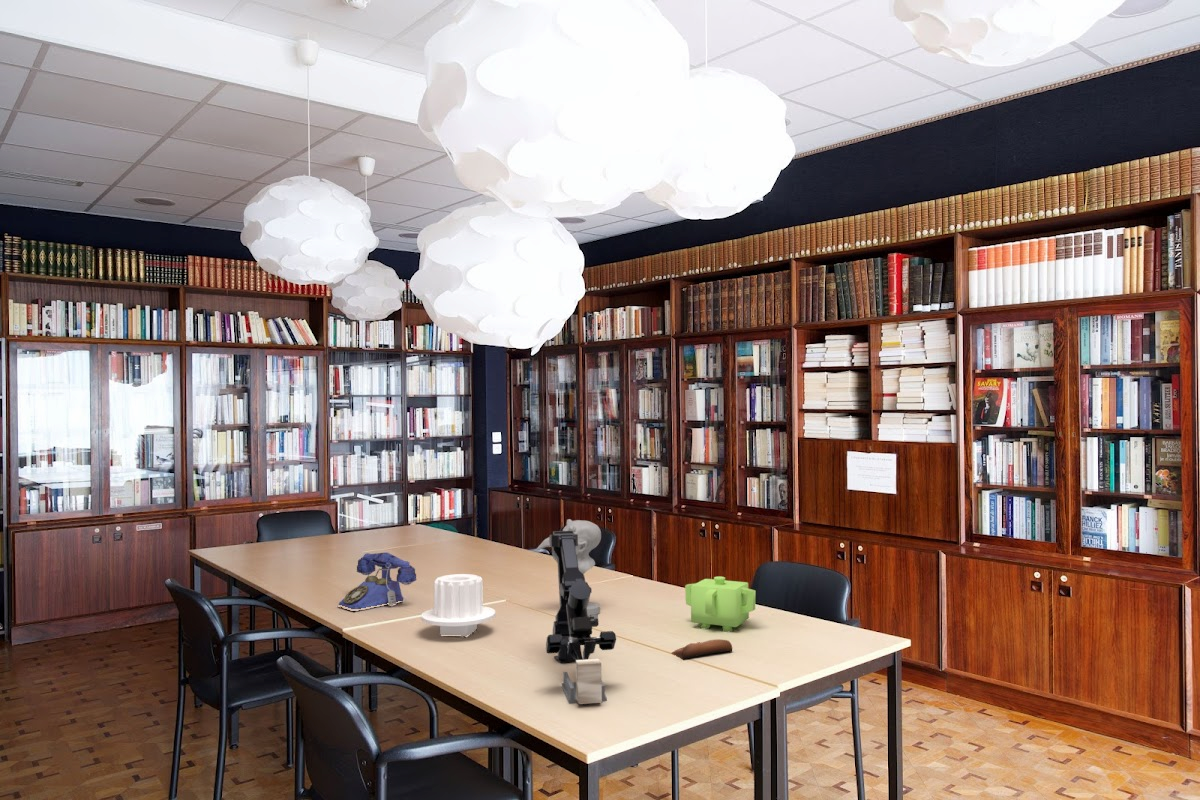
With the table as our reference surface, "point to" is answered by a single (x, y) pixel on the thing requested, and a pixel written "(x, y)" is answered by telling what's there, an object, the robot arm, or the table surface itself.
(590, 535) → the bust sculpture
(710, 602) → the storage box
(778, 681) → the table surface
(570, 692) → the gray chute
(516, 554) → the table surface
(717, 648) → the brown elongated lump
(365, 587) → the rotary telephone
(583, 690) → the cream block
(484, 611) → the flanged gear
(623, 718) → the table surface
